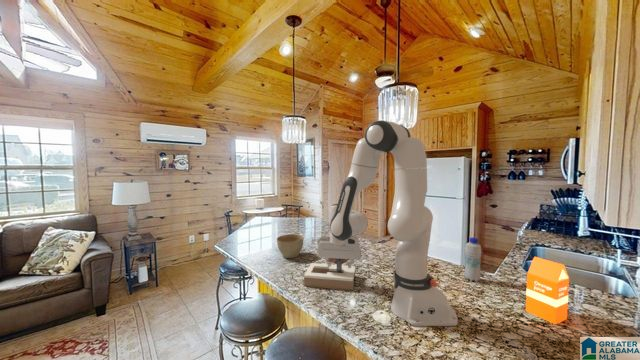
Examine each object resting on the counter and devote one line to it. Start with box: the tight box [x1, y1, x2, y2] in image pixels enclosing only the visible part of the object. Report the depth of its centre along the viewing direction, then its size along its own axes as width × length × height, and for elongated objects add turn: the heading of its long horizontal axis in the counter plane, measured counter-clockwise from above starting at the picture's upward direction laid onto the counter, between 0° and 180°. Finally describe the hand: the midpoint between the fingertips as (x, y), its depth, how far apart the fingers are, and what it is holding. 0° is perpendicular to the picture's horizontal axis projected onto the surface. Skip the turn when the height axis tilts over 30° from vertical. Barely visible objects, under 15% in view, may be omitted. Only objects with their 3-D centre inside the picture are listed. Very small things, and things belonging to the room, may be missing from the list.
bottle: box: [464, 237, 482, 283], centre depth 117 cm, size 7×7×20 cm
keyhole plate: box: [303, 262, 356, 291], centre depth 118 cm, size 22×14×5 cm, turn 78°
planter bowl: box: [276, 234, 305, 259], centre depth 151 cm, size 16×16×11 cm
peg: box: [336, 258, 343, 273], centre depth 117 cm, size 5×5×11 cm
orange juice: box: [525, 256, 570, 325], centre depth 89 cm, size 8×9×20 cm
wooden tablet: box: [328, 258, 349, 265], centre depth 150 cm, size 26×2×10 cm
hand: (339, 267), depth 116 cm, fingers open, 8 cm apart
